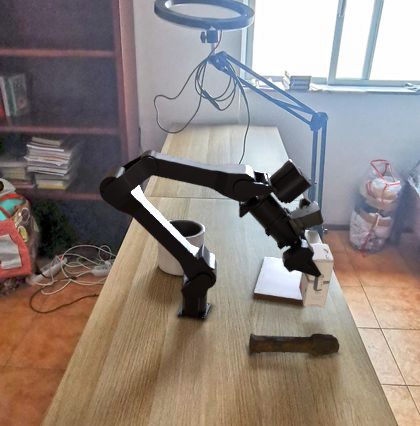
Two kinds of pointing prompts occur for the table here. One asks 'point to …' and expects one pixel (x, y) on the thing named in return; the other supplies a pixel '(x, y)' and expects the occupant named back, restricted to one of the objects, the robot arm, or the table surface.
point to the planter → (191, 233)
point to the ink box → (317, 278)
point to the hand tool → (295, 344)
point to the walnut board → (278, 282)
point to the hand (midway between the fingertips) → (316, 265)
